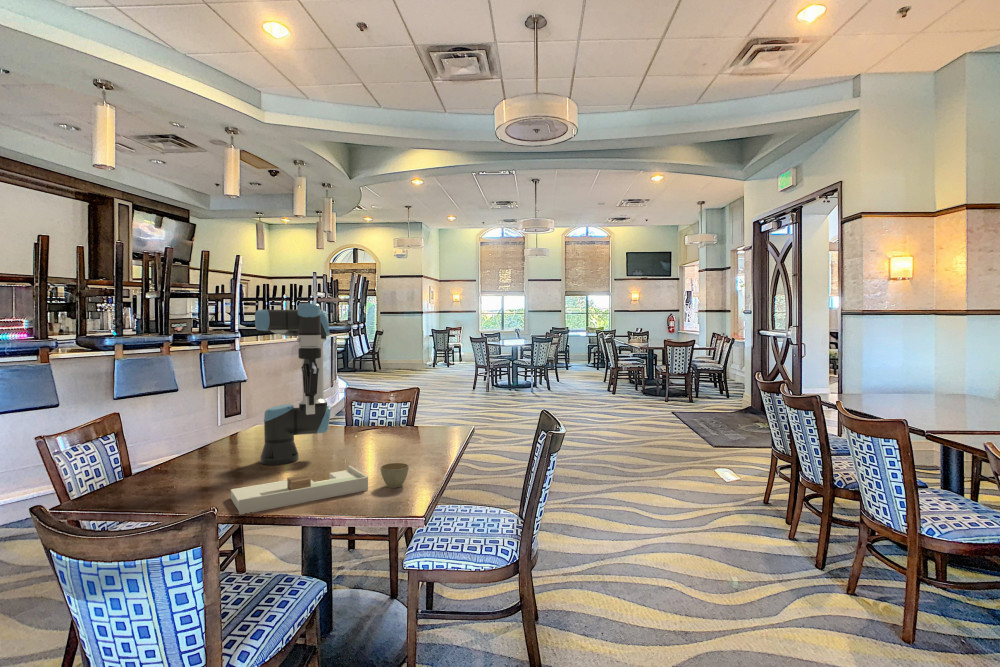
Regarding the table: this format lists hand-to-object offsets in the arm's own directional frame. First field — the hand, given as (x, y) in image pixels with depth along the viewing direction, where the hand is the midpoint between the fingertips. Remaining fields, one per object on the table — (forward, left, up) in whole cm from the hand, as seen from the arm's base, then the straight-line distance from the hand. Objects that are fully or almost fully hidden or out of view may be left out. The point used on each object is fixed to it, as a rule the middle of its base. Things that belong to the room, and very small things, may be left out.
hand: (310, 413), depth 187 cm
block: (+8, -6, -23) cm, 25 cm away
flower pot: (+15, +25, -27) cm, 39 cm away
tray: (+4, -5, -26) cm, 27 cm away
